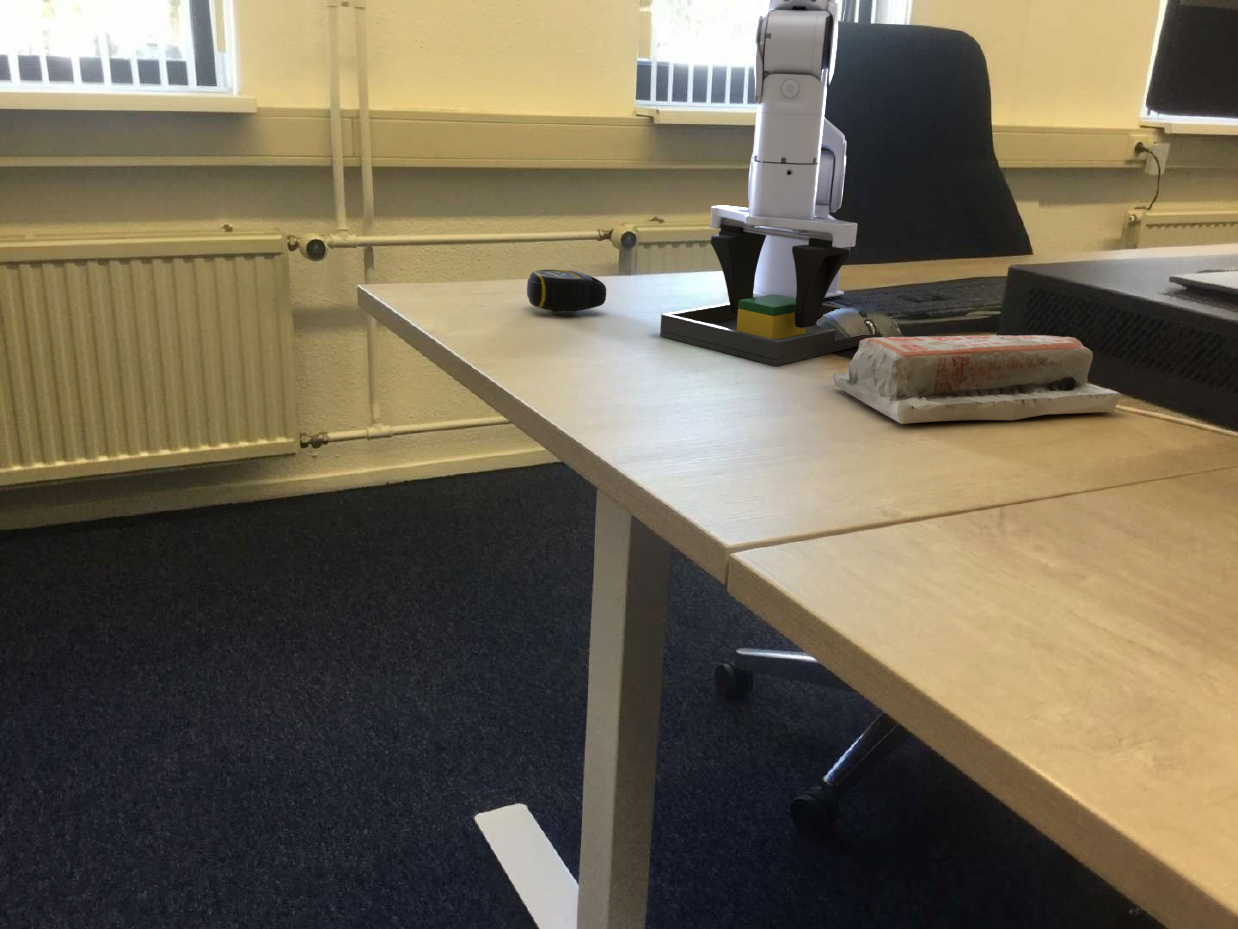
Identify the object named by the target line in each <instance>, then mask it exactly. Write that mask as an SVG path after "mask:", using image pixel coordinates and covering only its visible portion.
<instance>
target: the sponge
mask: <svg viewBox="0 0 1238 929" xmlns="http://www.w3.org/2000/svg"><path fill="white" fill-rule="evenodd" d="M795 304H796V299H794V298H789V297H784V296H780V295H775V294H773V295H767V296H761V297H753V298H748V299H742V300H739V309H738V321H737V331H741V332H745V333H749V334H753V335H757V336H762V337H766V338H770V339H774V340H778V339H783V338H788V337H792V336H797V335H802V334H805V331H806V327H805V328H799V327H796V326H795Z"/></svg>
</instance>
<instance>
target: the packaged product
mask: <svg viewBox="0 0 1238 929" xmlns="http://www.w3.org/2000/svg"><path fill="white" fill-rule="evenodd" d="M1092 362H1093V351H1092V350H1090V349H1089V348H1088V347H1086V346H1084V345H1083V343H1082V342H1081V340H1079V339H1077V338H1076V337H1071V336H1058V335H1047V334H1045V335H1044V334H1043V335H1041V334H1040V335H1037V334H1032V335H1021V334H1020V335H1006V334H1005V335H1001V334H1000V335H970V334H969V335H951V336H950V335H944V336H943V335H942V336H922V335H921V336H891V337H880V338H866V339H863V340H860V342H859V346H858V349H857V351H856V352H855V354H854V355H853V357H852V359H851V361H849V363H848V372H846V373H842V372H841V373H839V372H837V373H833V374H832V377H831V378H832V381H833V384H834V386H835V387H836V388H838V389H840V390H842V391H844V392H845V393H847V394H849V395H850V396H852V397H854V398H855V399H857V400H859V401H860V402H862V403H864V404H865V405H867V406H869V407H870V408H872V409H874V410H876V411H877V412H879V413H881V414H883V415H885V416H886V417H888V418H890V419H892V420H894V421H895V422H897V423H899V424H900V425H903V424H917V423H930V422H931V423H932V422H957V421H959V422H960V421H1015V420H1022V419H1027V418H1033V417H1038V416H1044V415H1063V414H1064V415H1065V414H1067V415H1069V414H1088V413H1089V414H1090V413H1091V414H1092V413H1112V412H1115V410H1116V407H1117V405H1118V402H1119V400H1120V397H1121V395H1122V394H1121V392H1118V391H1115V390H1112V389H1111V388H1105V387H1101V386H1099V385H1095V384H1092V383H1087V382H1088V380H1089V379H1088V376H1089V373H1090V370H1091V365H1092Z"/></svg>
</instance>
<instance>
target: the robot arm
mask: <svg viewBox="0 0 1238 929" xmlns="http://www.w3.org/2000/svg"><path fill="white" fill-rule="evenodd" d="M838 35H839V20H838V0H768V2H767V7H766V15H765V16H764V17H763V16H762V15H760V16H759V18H758V21H757V24H756V30H755V37H754V50H753V71H754V81H755V82H754V84H755V85H754V101H753V102H754V104H756V112H755V120H754V121H755V123H754V137H753V147H752V148H753V149H752V153H751V157H750V162H749V170H748V171H749V172H748V182H747V183H748V184H747V186H748V187H747V189H748V190H747V199H748V207H744V206H743V207H742V206H732V205H716V206H715V205H713V206H711V207H710V223H709V227H710V229H717V230H719V231H718V233H717V234H711V235H710V242H709V243H710V245H711V247H712V248H713V250H714V252H715V254H716V257H717V260H718V261H719V264H720V267H721V271H722V273H723V277H724V282H725V285H726V290H727V291H726V292H727V296H728V303H730V309H731V312H733V313H738V309H739V300H742V299H748V298H755V297H761V296H767V295H773V294H775V295H784V296H789V297H794V298H796V304H795V326H796V327H799V328H805V327H810V326H815V324H816V320H817V317H818V314H819V311H820V309H821V306H822V303H824V301H825V299H824V298H826V297H830V296H837V295H845V292H844V291H842V290H839V281H840V273H841V268H842V266H843V265H844V264H845V262H846V261H847V260H848V258H849V257H850V254H851V248H853V247H856V241H857V233H858V223H857V222H851V221H846V220H845V221H844V220H839V219H836V218H835V217H833V216H832V215H830V213H836V212H837V210H839V209H840V208H842V201H843V193H844V183H845V175H846V165H847V155H846V153H847V145H848V144H847V143H848V142H847V140H846V138H845V137H846V136H845V135H844V133H843V132H842V131H841V130H840V129H838V128H837V126H835V125H834V124H833V123H832V122H830V120H828V119H827V118H826V116H825V113H826V103H827V102H826V101H827V92H828V91H827V90H828V88H827V85H829V86H830V85H831V82H832V79H833V75H834V72H835V66H836V57H837V49H838V38H839V36H838ZM822 148H824V149H828V150H822Z"/></svg>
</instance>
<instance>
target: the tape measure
mask: <svg viewBox="0 0 1238 929" xmlns="http://www.w3.org/2000/svg"><path fill="white" fill-rule="evenodd" d="M526 296H527V298H528V302H529V303H530V304H531V305H532V306H534V307H536V308H539V309H542V310H544V311H545V312H546V313H547V312H548V313H550V314H552V315H557V314H560V313H563V312H569V313H570V312H571V313H572V312H578V311H584V310H589V309H590V310H591V309H595V308H597V307H601V306H603V305H604V303H605V302H606V301H607V300H606V299H607V286H606V285H605V283H604V282H602V281H601V280H600V279H599V278H596V277H594V276H591V275H589V274H587V273H584V272H580V271H577V270H574V269H569V270H564V269H555V268H553V269H539V270H538V269H537V270H533V271H532V272H531V273H530V275H529V278H528V279H527V285H526Z"/></svg>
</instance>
